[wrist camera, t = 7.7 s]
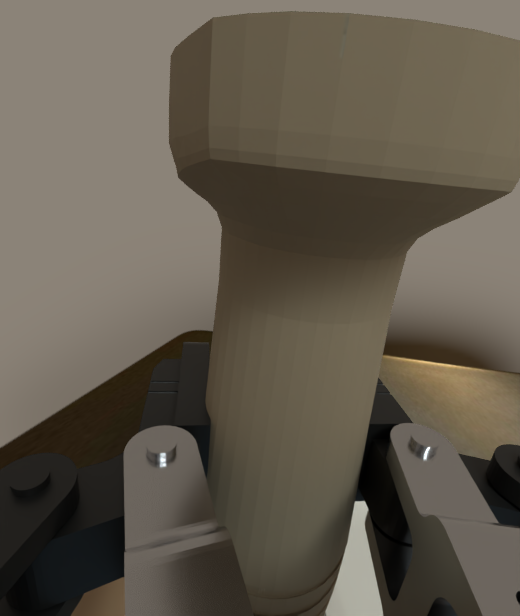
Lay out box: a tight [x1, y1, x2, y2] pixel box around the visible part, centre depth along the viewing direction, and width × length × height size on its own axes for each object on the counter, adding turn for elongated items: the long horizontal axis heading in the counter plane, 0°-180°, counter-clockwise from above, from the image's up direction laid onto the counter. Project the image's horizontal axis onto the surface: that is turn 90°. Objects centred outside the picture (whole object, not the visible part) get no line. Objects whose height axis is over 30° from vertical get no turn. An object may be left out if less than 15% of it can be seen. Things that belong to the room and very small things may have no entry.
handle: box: [169, 11, 520, 616], centre depth 9 cm, size 5×6×15 cm
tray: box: [324, 501, 383, 616], centre depth 22 cm, size 16×14×2 cm
